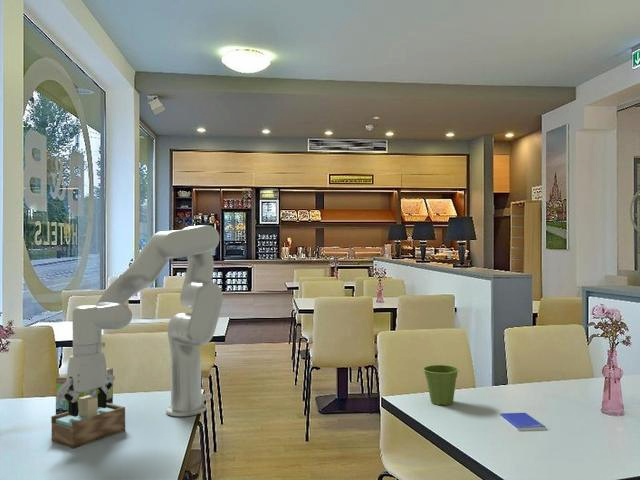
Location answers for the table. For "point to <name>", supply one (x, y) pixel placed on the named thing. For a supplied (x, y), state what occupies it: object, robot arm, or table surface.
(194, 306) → the robot arm
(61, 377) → the tea box
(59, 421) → the cover plate
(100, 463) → the table surface
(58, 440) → the walnut box
